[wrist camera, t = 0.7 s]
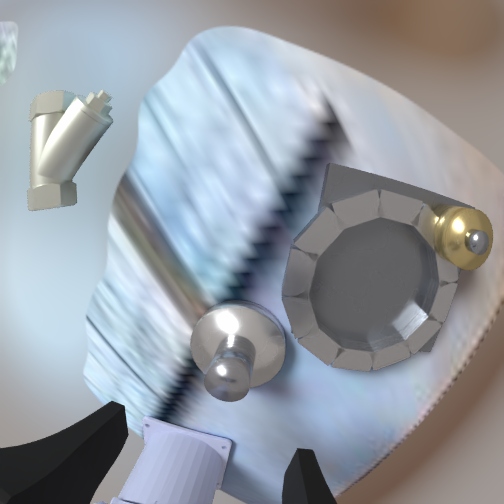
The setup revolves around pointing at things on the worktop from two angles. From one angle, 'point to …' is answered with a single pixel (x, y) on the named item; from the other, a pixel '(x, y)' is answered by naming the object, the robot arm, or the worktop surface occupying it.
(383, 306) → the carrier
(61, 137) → the pipe fitting
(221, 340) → the silver stemmed round piece
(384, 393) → the worktop surface
